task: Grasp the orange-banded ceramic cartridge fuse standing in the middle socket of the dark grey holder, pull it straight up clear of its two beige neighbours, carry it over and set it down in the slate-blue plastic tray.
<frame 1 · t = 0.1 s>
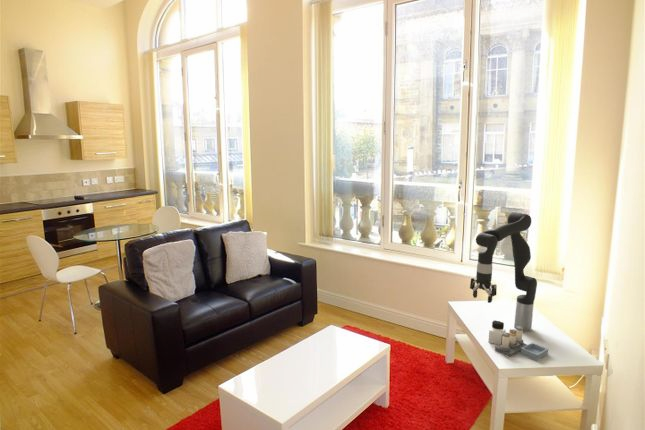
hand: (482, 299, 220), 29 cm above the table, fingers open, 8 cm apart
fuse holder: (511, 349, 226), on the table
tray: (534, 354, 221), on the table
medicine bottle: (496, 341, 235), on the table
marked fuse: (511, 345, 226), point 2 cm above the table, touching fuse holder
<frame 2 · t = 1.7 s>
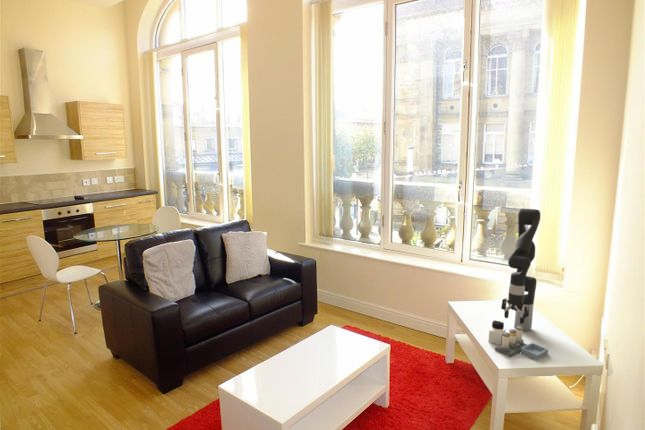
hand: (513, 320, 223), 17 cm above the table, fingers open, 8 cm apart
nothing on the table moved.
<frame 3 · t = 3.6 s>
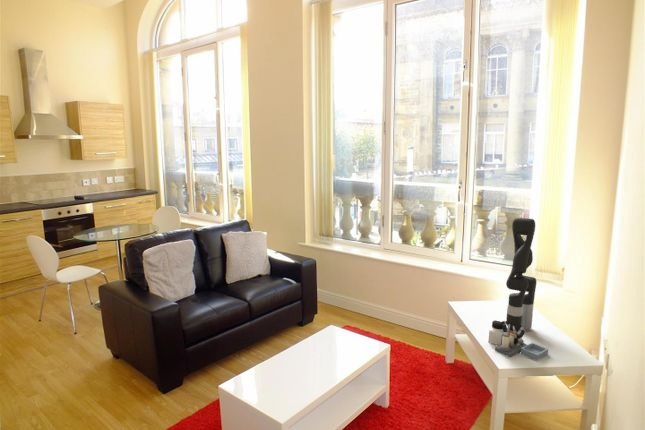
hand: (511, 342, 225), 4 cm above the table, fingers closed on marked fuse, 3 cm apart
marked fuse: (511, 345, 226), point 2 cm above the table, touching fuse holder, gripper
everything else where it was.
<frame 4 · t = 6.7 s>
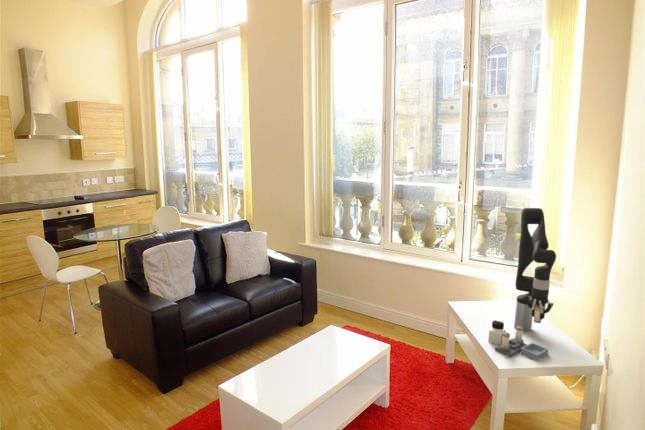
hand: (537, 317, 217), 21 cm above the table, fingers closed on marked fuse, 3 cm apart
marked fuse: (537, 321, 217), point 19 cm above the table, touching gripper
everything else where it was.
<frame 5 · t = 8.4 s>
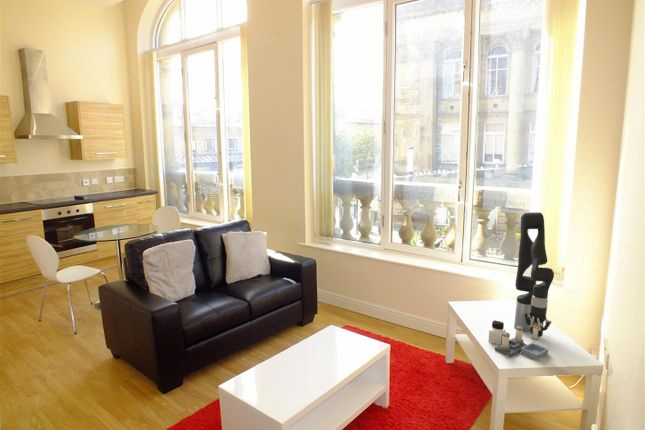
hand: (535, 334, 219), 11 cm above the table, fingers closed on marked fuse, 3 cm apart
marked fuse: (535, 338, 219), point 9 cm above the table, touching gripper
everything else where it was.
when the fingers open (5 cm above the table, at t = 10.0 s): marked fuse drops 2 cm, resting on tray.
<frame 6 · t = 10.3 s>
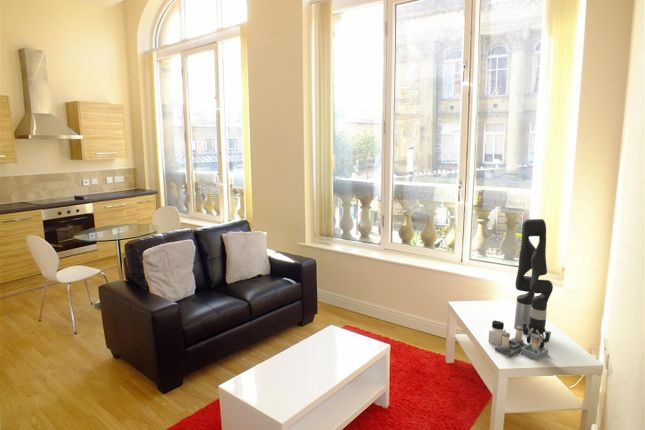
hand: (534, 345, 220), 5 cm above the table, fingers open, 6 cm apart
marked fuse: (534, 352, 221), point 1 cm above the table, touching tray
everything else where it was.
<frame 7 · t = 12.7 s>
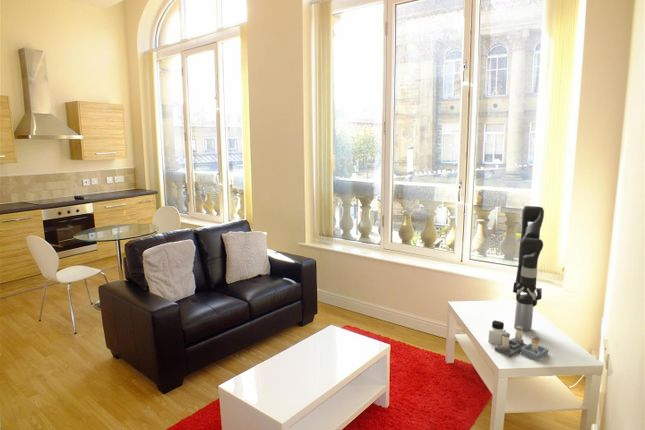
hand: (526, 303, 221), 27 cm above the table, fingers open, 8 cm apart
nothing on the table moved.
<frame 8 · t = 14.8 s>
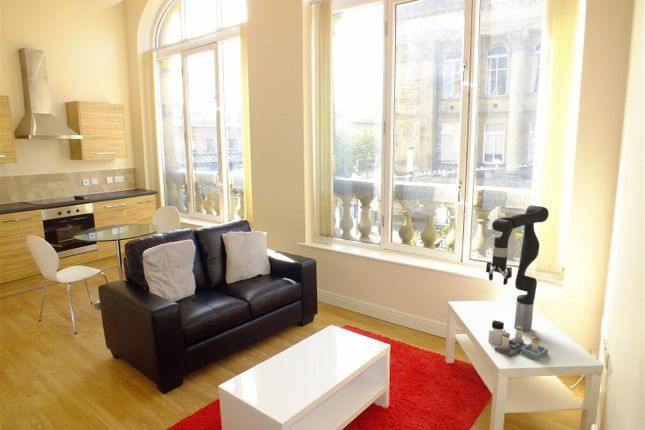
hand: (497, 282, 232), 34 cm above the table, fingers open, 8 cm apart
nothing on the table moved.
at the end: marked fuse inside the target area on the tray (0.0 cm from its centre), point 0.8 cm above the tray's base; the gripper is holding nothing; marked fuse touching tray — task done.
